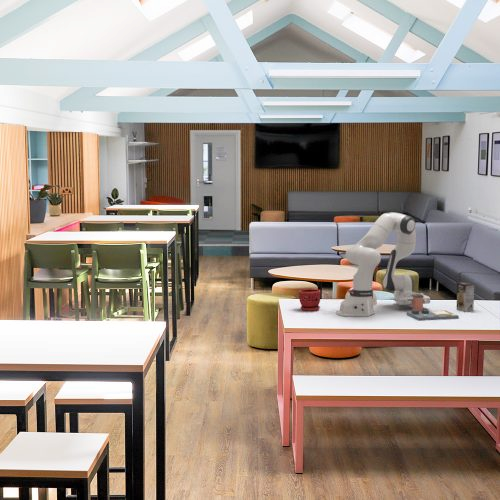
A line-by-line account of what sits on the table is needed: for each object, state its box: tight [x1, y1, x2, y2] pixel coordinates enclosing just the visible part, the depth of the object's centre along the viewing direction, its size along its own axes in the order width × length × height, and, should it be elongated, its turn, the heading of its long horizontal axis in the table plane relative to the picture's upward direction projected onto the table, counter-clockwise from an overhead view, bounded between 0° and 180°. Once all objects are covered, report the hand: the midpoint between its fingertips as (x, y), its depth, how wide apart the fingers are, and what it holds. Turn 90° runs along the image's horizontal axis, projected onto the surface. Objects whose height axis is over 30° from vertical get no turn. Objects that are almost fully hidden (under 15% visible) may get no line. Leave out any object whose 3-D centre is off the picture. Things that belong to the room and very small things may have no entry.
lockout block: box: [412, 294, 425, 312], centre depth 457 cm, size 5×5×10 cm
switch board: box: [406, 309, 460, 322], centre depth 442 cm, size 24×17×3 cm
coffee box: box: [456, 281, 475, 313], centre depth 460 cm, size 9×6×16 cm
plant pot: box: [298, 288, 322, 312], centre depth 466 cm, size 13×13×12 cm
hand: (418, 302), depth 456 cm, fingers open, 8 cm apart
